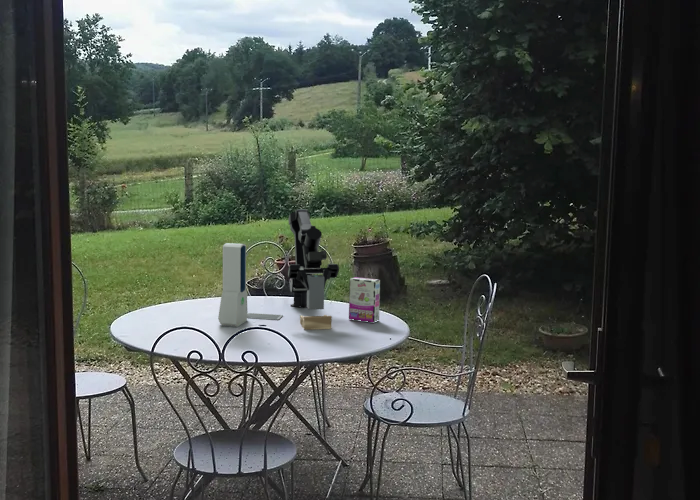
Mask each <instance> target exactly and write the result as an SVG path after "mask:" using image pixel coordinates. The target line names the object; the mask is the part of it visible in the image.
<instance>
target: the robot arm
mask: <svg viewBox="0 0 700 500" xmlns="http://www.w3.org/2000/svg"><path fill="white" fill-rule="evenodd" d="M288 225H289V228H290V231H291V233H292V234H293V235H294V236H293V237H294V257H295V258H294V260H295V264H294V263H293V264H289V265H288V269H287V270H288V271H287V277H288V279H291V280H290V283H289V291H290V293H293V303H292V304H290V307H295V308H306V307H307V290H309V285H308V281H307V275H322V276H324V290H325V289H326V282H327V280H330V279H336V278H337V277H338V274H339V271H340V265H339V264H337V263H327V267H322V264H323V263H322V261H325V260H327V258H328V257H327V256H328V253H327V250H321V251H319V247H320V243H321V239H322V235H323V234H322V231H321V230H320V229H319V228H317V227H316V225H312V222H311V215H310V213H309V209H301V208H299V209H295V210H294V211H293V212H291V213H289V215H288Z"/></svg>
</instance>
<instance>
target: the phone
mask: <svg viewBox="0 0 700 500" xmlns="http://www.w3.org/2000/svg"><path fill="white" fill-rule="evenodd" d="M283 317H284V315H283V314H272V313H271V314H269V313H255V312H253V313H252V312H248V317H247V319H253V320H268V321H269V320H270V321H279V320H280V319H281V318H283Z"/></svg>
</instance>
